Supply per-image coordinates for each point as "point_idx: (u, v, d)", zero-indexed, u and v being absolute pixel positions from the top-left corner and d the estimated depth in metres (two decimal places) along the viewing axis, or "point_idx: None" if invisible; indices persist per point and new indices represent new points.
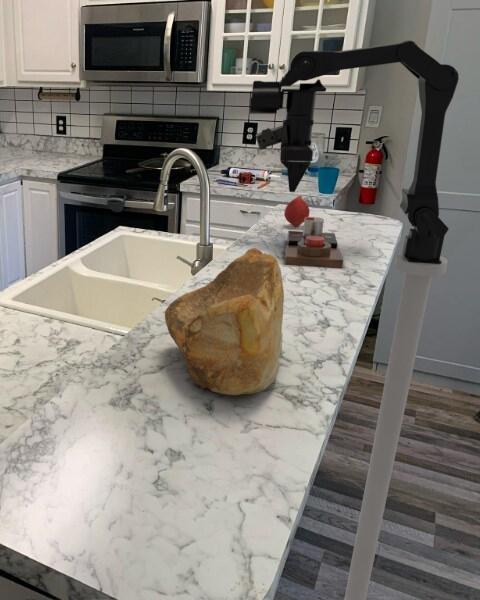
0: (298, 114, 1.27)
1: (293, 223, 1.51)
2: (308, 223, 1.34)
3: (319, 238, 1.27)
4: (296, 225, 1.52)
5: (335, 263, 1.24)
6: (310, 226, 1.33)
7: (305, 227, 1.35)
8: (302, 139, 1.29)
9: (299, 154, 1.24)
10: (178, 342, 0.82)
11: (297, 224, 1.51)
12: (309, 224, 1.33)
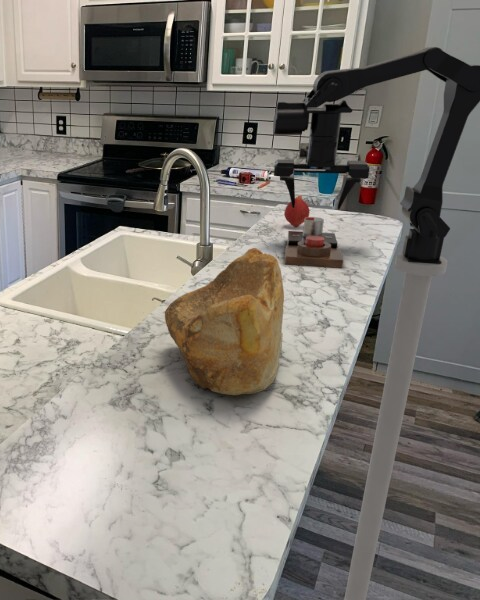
0: (324, 135, 1.25)
1: (293, 223, 1.51)
2: (308, 223, 1.34)
3: (319, 238, 1.27)
4: (296, 225, 1.52)
5: (335, 263, 1.24)
6: (310, 226, 1.33)
7: (305, 227, 1.35)
8: (308, 159, 1.29)
9: None
10: (178, 342, 0.82)
11: (297, 224, 1.51)
12: (309, 224, 1.33)
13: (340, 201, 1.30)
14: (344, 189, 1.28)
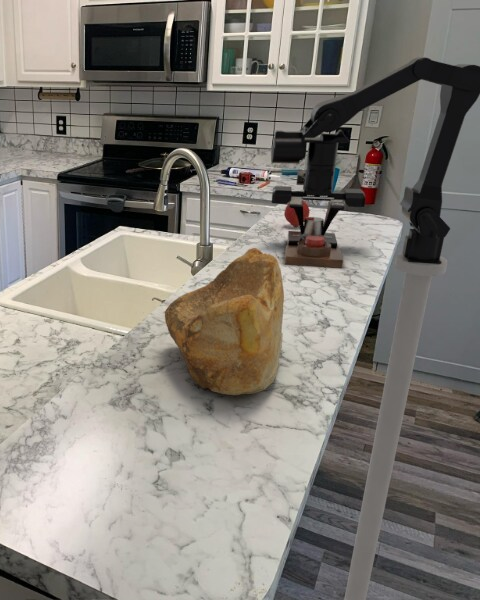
0: (321, 165, 1.27)
1: (293, 223, 1.51)
2: (308, 223, 1.34)
3: (319, 238, 1.27)
4: (296, 225, 1.52)
5: (335, 263, 1.24)
6: (310, 226, 1.33)
7: (305, 227, 1.35)
8: (305, 186, 1.32)
9: None
10: (178, 342, 0.82)
11: (297, 224, 1.51)
12: (309, 224, 1.33)
13: (324, 227, 1.33)
14: (328, 216, 1.31)
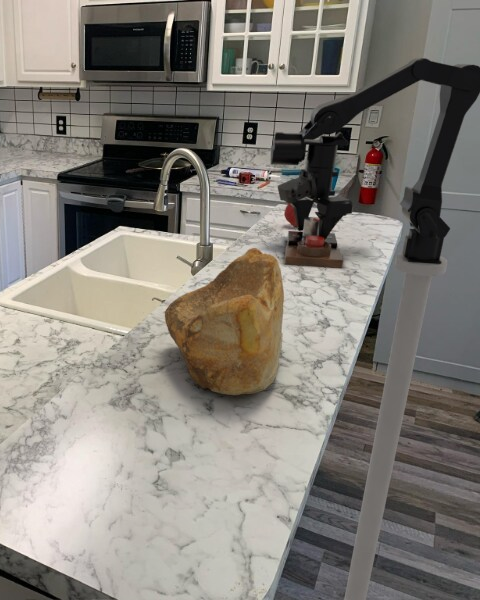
0: (320, 167, 1.28)
1: (293, 223, 1.51)
2: None
3: (319, 238, 1.27)
4: (296, 225, 1.52)
5: (335, 263, 1.24)
6: None
7: None
8: (328, 190, 1.30)
9: (343, 208, 1.25)
10: (178, 342, 0.82)
11: None
12: None
13: None
14: None
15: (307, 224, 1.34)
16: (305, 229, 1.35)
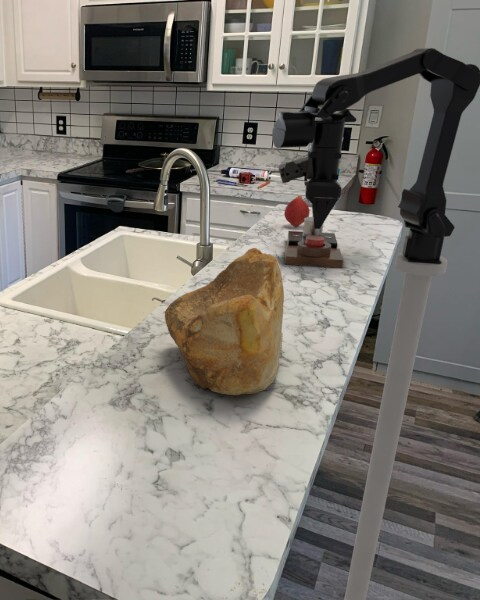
0: (331, 146, 1.18)
1: (293, 223, 1.51)
2: None
3: (319, 238, 1.27)
4: (296, 225, 1.52)
5: (335, 263, 1.24)
6: None
7: (322, 228, 1.34)
8: (329, 173, 1.20)
9: (326, 190, 1.15)
10: (178, 342, 0.82)
11: (297, 224, 1.51)
12: None
13: None
14: None
15: (307, 224, 1.34)
16: (305, 229, 1.35)
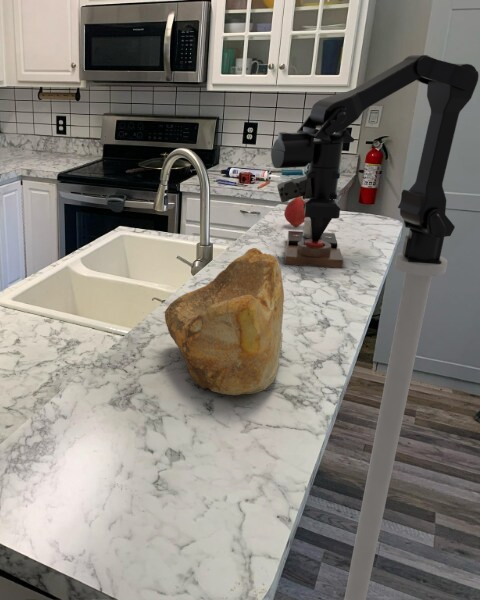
0: (330, 167, 1.19)
1: (293, 223, 1.51)
2: None
3: (319, 241, 1.27)
4: (296, 225, 1.52)
5: (335, 263, 1.24)
6: None
7: None
8: (327, 192, 1.21)
9: (325, 211, 1.16)
10: (178, 342, 0.82)
11: (297, 224, 1.51)
12: None
13: None
14: None
15: (307, 224, 1.34)
16: (305, 229, 1.35)
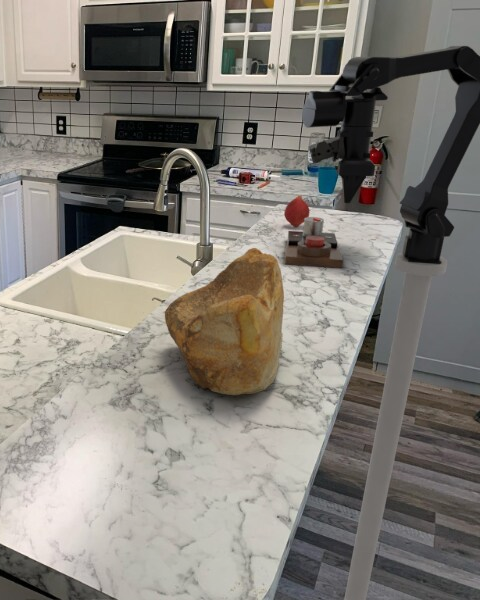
0: (362, 125, 1.18)
1: (293, 223, 1.51)
2: (323, 222, 1.34)
3: (319, 238, 1.27)
4: (296, 225, 1.52)
5: (335, 263, 1.24)
6: None
7: (322, 228, 1.34)
8: (360, 151, 1.20)
9: (360, 169, 1.15)
10: (178, 342, 0.82)
11: (297, 224, 1.51)
12: (323, 222, 1.34)
13: None
14: None
15: (307, 224, 1.34)
16: (305, 229, 1.35)
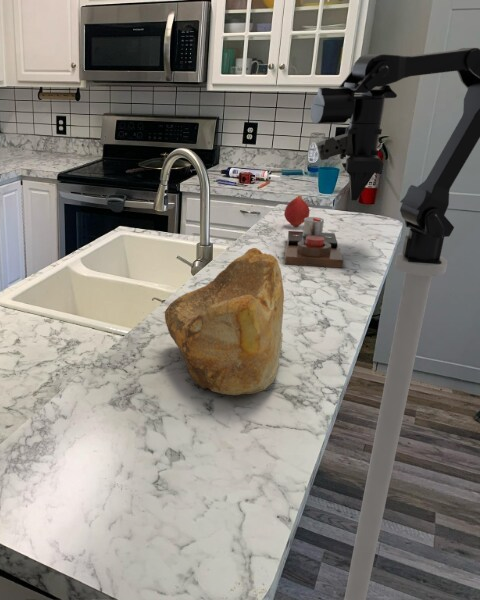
0: (371, 122, 1.18)
1: (293, 223, 1.51)
2: (323, 222, 1.34)
3: (319, 238, 1.27)
4: (296, 225, 1.52)
5: (335, 263, 1.24)
6: None
7: (322, 228, 1.34)
8: (368, 149, 1.20)
9: (368, 165, 1.15)
10: (178, 342, 0.82)
11: (297, 224, 1.51)
12: (323, 222, 1.34)
13: None
14: None
15: (307, 224, 1.34)
16: (305, 229, 1.35)
